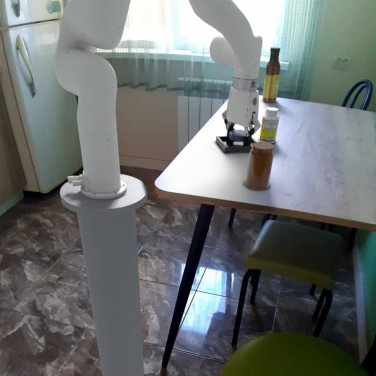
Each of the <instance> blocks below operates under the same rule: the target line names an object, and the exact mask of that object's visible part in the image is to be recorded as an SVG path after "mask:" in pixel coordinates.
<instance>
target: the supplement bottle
mask: <svg viewBox="0 0 376 376" xmlns="http://www.w3.org/2000/svg"><path fill="white" fill-rule="evenodd" d="M278 114H279V108H277V107H270V106H269V107H266V109H265V113H264V114H263V115H262V118H261V127H260V133H259V142H266V143H270V144H273V143H275V142H276V140H277V135H278V134H277V133H278V128H279V123H280V116H279V115H278Z"/></svg>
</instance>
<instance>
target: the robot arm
mask: <svg viewBox="0 0 376 376" xmlns="http://www.w3.org/2000/svg"><path fill="white" fill-rule="evenodd" d="M131 1H132V0H68V1H67V3H66V4H65V7H64V10H63V13H62V16H61V21H60V26H59V32H58V38H57V44H56V49H55V54H54V63H53V65H54V66H53V67H54V75H55V78H56V81H57V82H58V85H60V86H61V88H62V89H64V90H65V91H67V92H68V93H71V94H73V95H75V96H77V97H78V98H77V109H76V124H77V131H78V138H79V144H80V152H81V160H82V168H83V170H82V174H79V175H68V176H67V182H68V183H69V184H72V183H73V186H81V187H80V189H81V193H82V194H83V195H84V196H86V197H89V198H92V199H99V200H105V199H113V198H117V197H120V196H122V195H123V194H125V193H126V191H127V185H126V183H125V182H123V181H122V180H121V178H120V174H121V168H120V167H121V166H120V154H119V139H118V129H117V127H118V126H117V114H116V113H117V110H116V109H117V108H116V107H117V105H116V104H117V93H118V77H117V74H116V71H115V69H114V67H113V65H111V62H109V61H108V60H107V59H106V58H104V57H103V56H101V55H99V54H96V49H99V50H103V51H105V50H106V51H110V50H114V49H116V48H117V47H118V46H119V45H120V43H121V41H122V38H123V35H124V30H125V27H126V22H127V18H128V13H129V10H130V6H131ZM188 2H189V4H190V7H191V9H192V11H193V13H194V14H195V15H196V16H197V17H198V18H199V19H200V20H201V21H203V22H204V23H205V24H207V25H208V26H209V27H212V28H213V29H215V30H216V31H217V32H218V33H219V34H217V35H216V36H215V37H214V38H213V39H212V40H211V42H210V45H209V55H210V56H209V57H210V58H211V60H212V61H213V62H214V63H215V64H217V65H219V66H222V67H226V68H231V69H233V74H232V83H231V84H232V86H231V87H230V90H229V94H228V99H227V105H226V109H225V110H224V111H223V112H222V113H221V117H222V119H223V122H224V124H225V129H226V136H227V137H226V142H227V143H229V142H232V140H230V139H229V132H230V131H231V130H236V128H235V125H238V126H240V127H243V130H244V131H245V134H246V136H244V140H243V146H251V139H252V137H253V136H254V135H255V133H257V131H258V130H259V129H261V125H262V123H261V122H260V120H259V111H260V93H259V90H258V88H259V87H260V83H259V82H258V81H259V74H260V66H261V58H262V50H263V41H264V40H263V36H261V34H258V33H254V31H253V29H252V26H251V24H250V22H249V20H248V17H247V16H246V15H245V13H244V12H243V11H242V10H241V9H240V7H239V6H238V5H237V4H236V3H235V2H234V0H188Z"/></svg>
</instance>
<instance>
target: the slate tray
mask: <svg viewBox="0 0 376 376" xmlns="http://www.w3.org/2000/svg"><path fill="white" fill-rule="evenodd" d="M226 137H227V135H216V137H215V142H216V144H217V145H218V146H219V148H220V149H221V150H222V151H223V153H224V154H237V153H240V154H241V153H250V150H251V149H252V148H251V147H252V144H253V143H256V142H258V141H257V140H256V139H255V138H254V137H253V136H252V139H251V146H243V142H235V141H232V142H229V143H227V142H226Z"/></svg>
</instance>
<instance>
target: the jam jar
mask: <svg viewBox="0 0 376 376" xmlns="http://www.w3.org/2000/svg"><path fill="white" fill-rule="evenodd" d="M251 148H252V149H251V150H250V152H249V155H248V163H247V170H246V177H245V186H246V187H247V188H249V189H251V190H254V191H255V190H256V191H257V190H258V191H262V190H263V191H264V190H266V189H268V188H269V185H270V180H271V174H272V167H273V162H274V157H275V156H274V155H275V152H274V149H275V145H274V144H273V143H266V142H261V141H257V142H256V143H253V144H252V147H251Z"/></svg>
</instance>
